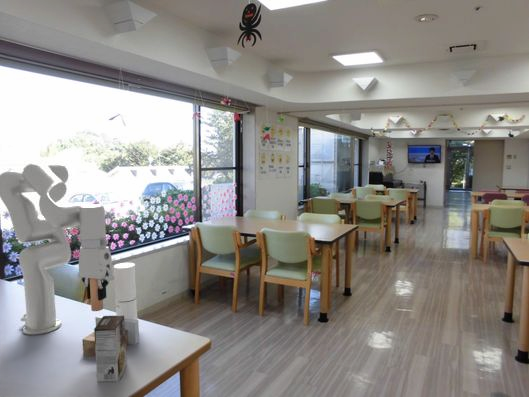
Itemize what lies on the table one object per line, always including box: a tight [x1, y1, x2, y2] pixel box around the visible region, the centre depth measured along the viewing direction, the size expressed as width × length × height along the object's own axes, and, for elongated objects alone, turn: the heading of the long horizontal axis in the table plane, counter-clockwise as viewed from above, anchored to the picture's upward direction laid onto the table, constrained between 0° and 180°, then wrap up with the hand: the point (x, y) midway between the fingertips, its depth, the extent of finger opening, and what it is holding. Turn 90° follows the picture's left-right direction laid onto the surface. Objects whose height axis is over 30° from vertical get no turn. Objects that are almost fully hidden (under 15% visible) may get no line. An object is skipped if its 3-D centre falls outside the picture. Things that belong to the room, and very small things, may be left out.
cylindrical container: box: [113, 262, 138, 320], centre depth 144 cm, size 7×7×25 cm
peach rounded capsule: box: [90, 278, 104, 312], centre depth 129 cm, size 4×4×12 cm
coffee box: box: [93, 315, 128, 383], centre depth 117 cm, size 9×6×16 cm
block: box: [81, 330, 129, 357], centre depth 133 cm, size 10×10×5 cm
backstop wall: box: [94, 314, 140, 346], centre depth 138 cm, size 16×2×8 cm, turn 73°
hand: (96, 297), depth 129 cm, fingers closed on peach rounded capsule, 3 cm apart
